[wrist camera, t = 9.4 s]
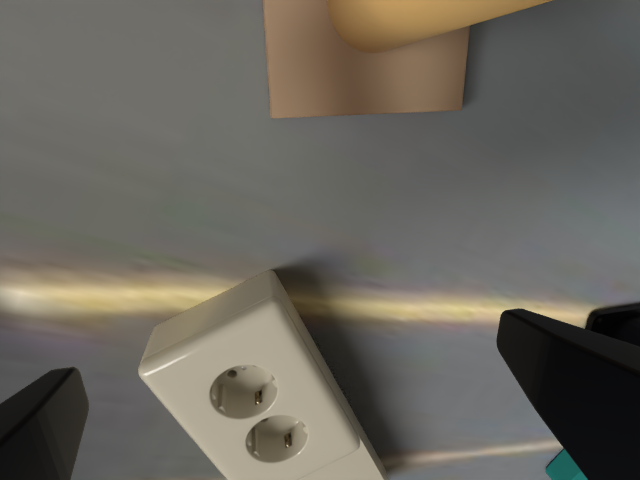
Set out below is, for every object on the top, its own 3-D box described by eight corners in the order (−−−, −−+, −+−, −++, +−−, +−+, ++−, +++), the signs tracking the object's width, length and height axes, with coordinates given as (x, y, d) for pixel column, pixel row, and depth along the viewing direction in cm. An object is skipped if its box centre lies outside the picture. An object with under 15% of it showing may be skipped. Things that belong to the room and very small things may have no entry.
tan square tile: (471, -119, 16) (485, -132, 15) (451, 109, 19) (461, 110, 18) (252, -133, 15) (253, -149, 14) (270, 117, 18) (272, 118, 17)
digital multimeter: (620, 516, 37) (650, 549, 34) (536, 464, 31) (565, 499, 29) (679, 464, 36) (715, 494, 33) (603, 401, 30) (639, 431, 28)
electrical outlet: (302, 573, 24) (132, 375, 17) (294, 509, 28) (152, 323, 21) (405, 521, 24) (278, 302, 17) (383, 464, 28) (272, 265, 21)
